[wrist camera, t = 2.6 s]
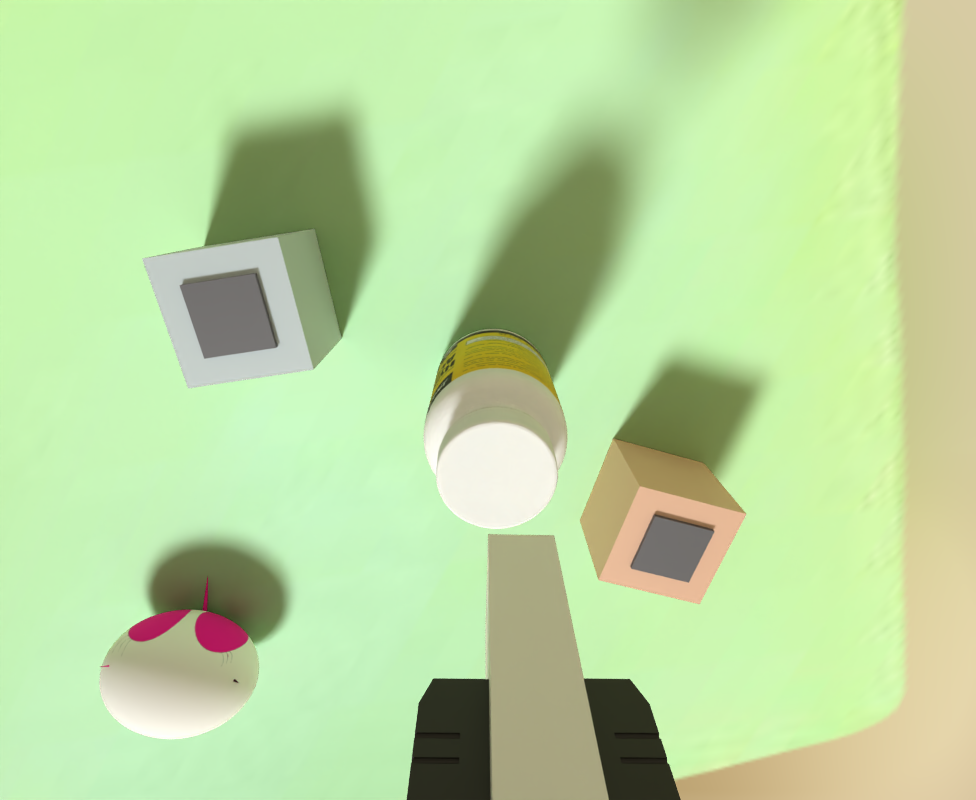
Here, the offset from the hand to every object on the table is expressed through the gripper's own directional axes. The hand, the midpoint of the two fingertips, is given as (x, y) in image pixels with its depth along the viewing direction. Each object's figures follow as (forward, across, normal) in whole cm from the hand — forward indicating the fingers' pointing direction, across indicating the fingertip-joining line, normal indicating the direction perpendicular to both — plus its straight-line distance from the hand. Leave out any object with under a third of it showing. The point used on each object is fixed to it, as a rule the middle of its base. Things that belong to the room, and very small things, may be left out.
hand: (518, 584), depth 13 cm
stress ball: (+15, -16, -15) cm, 27 cm away
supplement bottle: (+15, 0, 0) cm, 15 cm away
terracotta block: (+15, +8, -6) cm, 18 cm away
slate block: (+15, -10, +4) cm, 19 cm away
